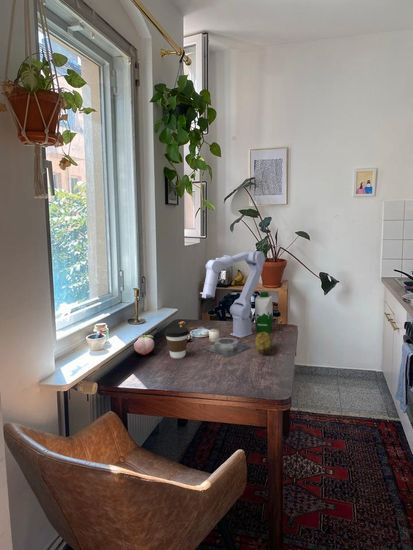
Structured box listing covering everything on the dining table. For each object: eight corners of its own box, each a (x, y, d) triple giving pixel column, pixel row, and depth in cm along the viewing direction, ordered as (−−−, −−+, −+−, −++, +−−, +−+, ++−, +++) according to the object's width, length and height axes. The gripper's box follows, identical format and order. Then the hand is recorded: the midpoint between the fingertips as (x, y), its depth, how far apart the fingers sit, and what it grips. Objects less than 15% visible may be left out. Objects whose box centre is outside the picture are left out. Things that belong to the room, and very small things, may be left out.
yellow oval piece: (251, 355, 179) (250, 337, 178) (257, 345, 191) (257, 329, 190) (269, 357, 176) (269, 339, 175) (275, 347, 188) (275, 330, 187)
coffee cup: (186, 361, 175) (185, 334, 173) (162, 359, 177) (161, 333, 175) (192, 352, 186) (191, 326, 184) (169, 351, 188) (168, 326, 186)
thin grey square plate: (225, 340, 200) (225, 333, 199) (251, 348, 188) (250, 340, 188) (202, 349, 189) (201, 341, 188) (227, 357, 178) (227, 349, 177)
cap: (214, 338, 205) (213, 328, 204) (221, 340, 201) (221, 329, 200) (207, 340, 201) (206, 330, 201) (214, 342, 198) (214, 332, 197)
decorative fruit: (152, 350, 190) (151, 329, 188) (156, 355, 182) (155, 334, 181) (132, 353, 187) (130, 332, 185) (135, 359, 179) (134, 337, 178)
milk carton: (273, 328, 217) (273, 292, 214) (271, 333, 208) (270, 295, 205) (257, 327, 220) (256, 291, 216) (254, 332, 211) (253, 295, 208)
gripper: (206, 283, 203) (201, 310, 203) (198, 282, 189) (192, 311, 189) (220, 286, 201) (214, 313, 201) (212, 285, 187) (206, 314, 187)
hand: (204, 312), depth 195 cm, fingers open, 7 cm apart
